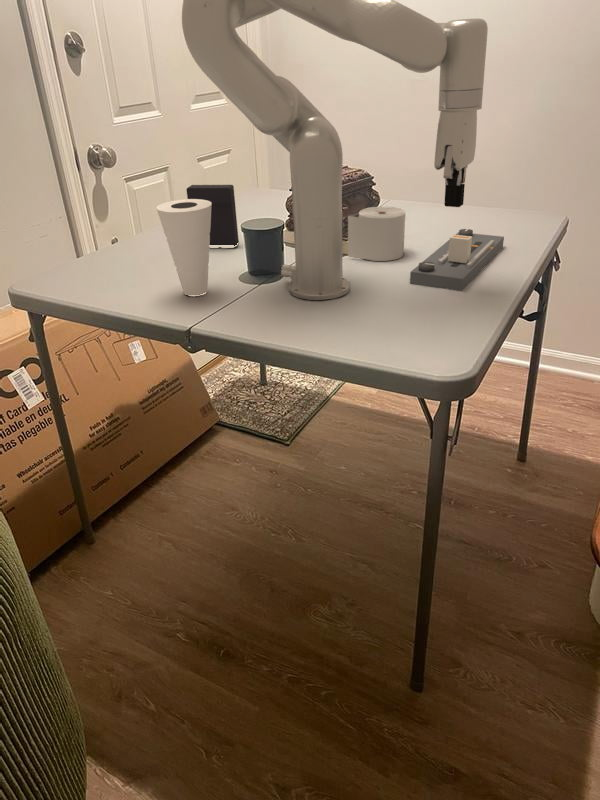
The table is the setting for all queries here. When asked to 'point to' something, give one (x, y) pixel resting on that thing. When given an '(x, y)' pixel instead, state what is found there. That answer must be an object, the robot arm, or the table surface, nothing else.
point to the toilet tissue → (377, 234)
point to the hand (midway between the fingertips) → (453, 205)
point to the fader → (459, 248)
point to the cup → (188, 240)
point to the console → (456, 263)
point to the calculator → (219, 211)
